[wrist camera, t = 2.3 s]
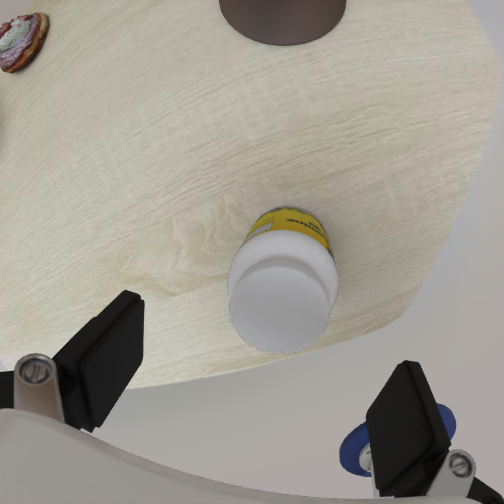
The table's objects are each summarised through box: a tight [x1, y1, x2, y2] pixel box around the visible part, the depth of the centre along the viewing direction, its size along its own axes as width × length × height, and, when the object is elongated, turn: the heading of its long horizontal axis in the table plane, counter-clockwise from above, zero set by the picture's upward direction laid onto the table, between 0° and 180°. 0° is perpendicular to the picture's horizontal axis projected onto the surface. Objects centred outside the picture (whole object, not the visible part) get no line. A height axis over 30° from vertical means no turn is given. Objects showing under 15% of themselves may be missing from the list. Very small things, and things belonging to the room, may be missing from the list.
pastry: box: [0, 13, 48, 73], centre depth 18 cm, size 8×8×5 cm
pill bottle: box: [227, 206, 338, 354], centre depth 19 cm, size 6×6×11 cm
